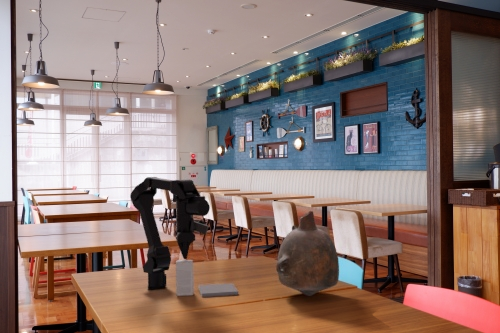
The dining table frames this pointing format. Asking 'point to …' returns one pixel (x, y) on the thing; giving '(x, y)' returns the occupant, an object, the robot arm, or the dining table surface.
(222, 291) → the slate tile
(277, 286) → the dining table surface
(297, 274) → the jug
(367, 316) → the dining table surface
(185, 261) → the skincare box
